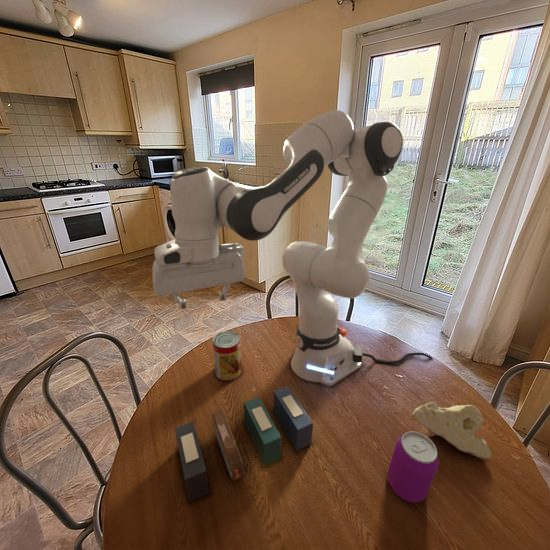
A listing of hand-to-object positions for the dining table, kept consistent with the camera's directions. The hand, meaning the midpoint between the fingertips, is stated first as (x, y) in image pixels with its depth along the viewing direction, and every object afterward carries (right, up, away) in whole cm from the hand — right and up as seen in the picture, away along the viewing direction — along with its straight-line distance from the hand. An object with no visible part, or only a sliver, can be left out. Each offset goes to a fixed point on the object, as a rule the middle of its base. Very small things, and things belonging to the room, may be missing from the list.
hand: (203, 303), depth 68 cm
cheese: (+57, -33, +1) cm, 66 cm away
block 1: (-1, -35, -6) cm, 35 cm away
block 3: (+21, -31, +4) cm, 37 cm away
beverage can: (+44, -37, -8) cm, 58 cm away
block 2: (+14, -32, 0) cm, 35 cm away
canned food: (+3, -23, +21) cm, 31 cm away
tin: (+6, -34, -3) cm, 35 cm away
